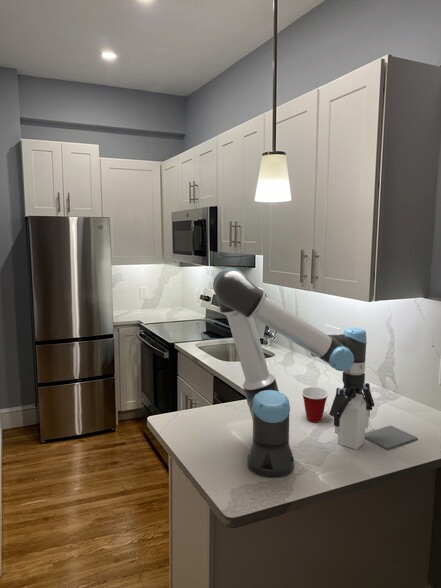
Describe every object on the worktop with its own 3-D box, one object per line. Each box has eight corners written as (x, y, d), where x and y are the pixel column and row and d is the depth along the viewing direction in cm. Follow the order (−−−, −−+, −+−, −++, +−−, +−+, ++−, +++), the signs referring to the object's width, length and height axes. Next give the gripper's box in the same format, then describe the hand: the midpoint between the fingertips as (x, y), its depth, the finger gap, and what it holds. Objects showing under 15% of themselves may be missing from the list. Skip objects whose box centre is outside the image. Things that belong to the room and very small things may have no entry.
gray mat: (387, 450, 155) (387, 448, 155) (360, 436, 165) (360, 434, 165) (417, 439, 163) (417, 437, 163) (390, 427, 173) (390, 425, 173)
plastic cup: (299, 424, 176) (300, 395, 175) (301, 413, 187) (301, 385, 185) (328, 426, 174) (329, 397, 172) (327, 415, 184) (328, 387, 183)
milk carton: (345, 437, 165) (347, 387, 163) (364, 442, 161) (366, 392, 158) (337, 444, 160) (339, 393, 157) (356, 450, 155) (358, 397, 153)
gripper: (335, 381, 147) (333, 442, 150) (386, 369, 159) (383, 426, 162) (319, 374, 154) (318, 433, 157) (370, 364, 166) (367, 419, 169)
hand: (351, 430), depth 160 cm, fingers open, 12 cm apart
